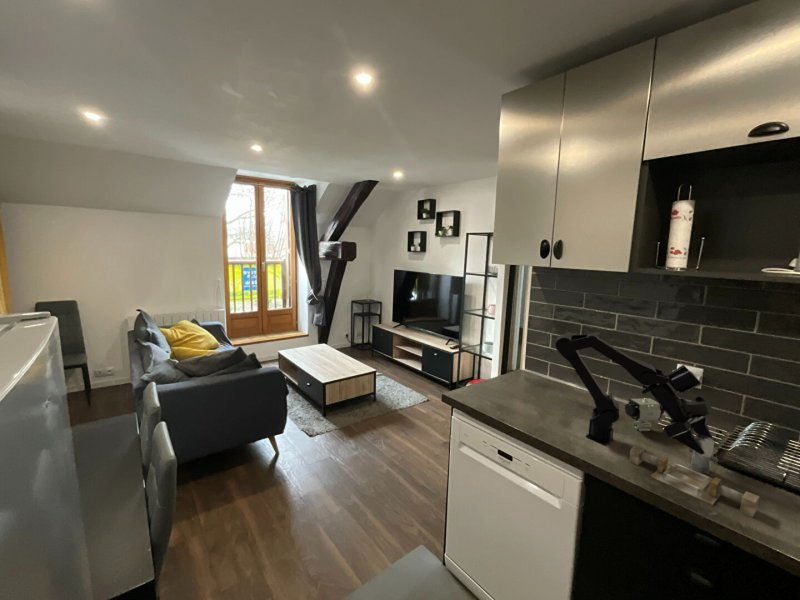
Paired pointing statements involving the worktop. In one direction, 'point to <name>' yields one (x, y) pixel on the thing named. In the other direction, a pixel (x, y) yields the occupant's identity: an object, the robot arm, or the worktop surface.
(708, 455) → the ujoint coupling
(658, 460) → the shaft rig
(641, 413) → the pneumatic valve
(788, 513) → the worktop surface
